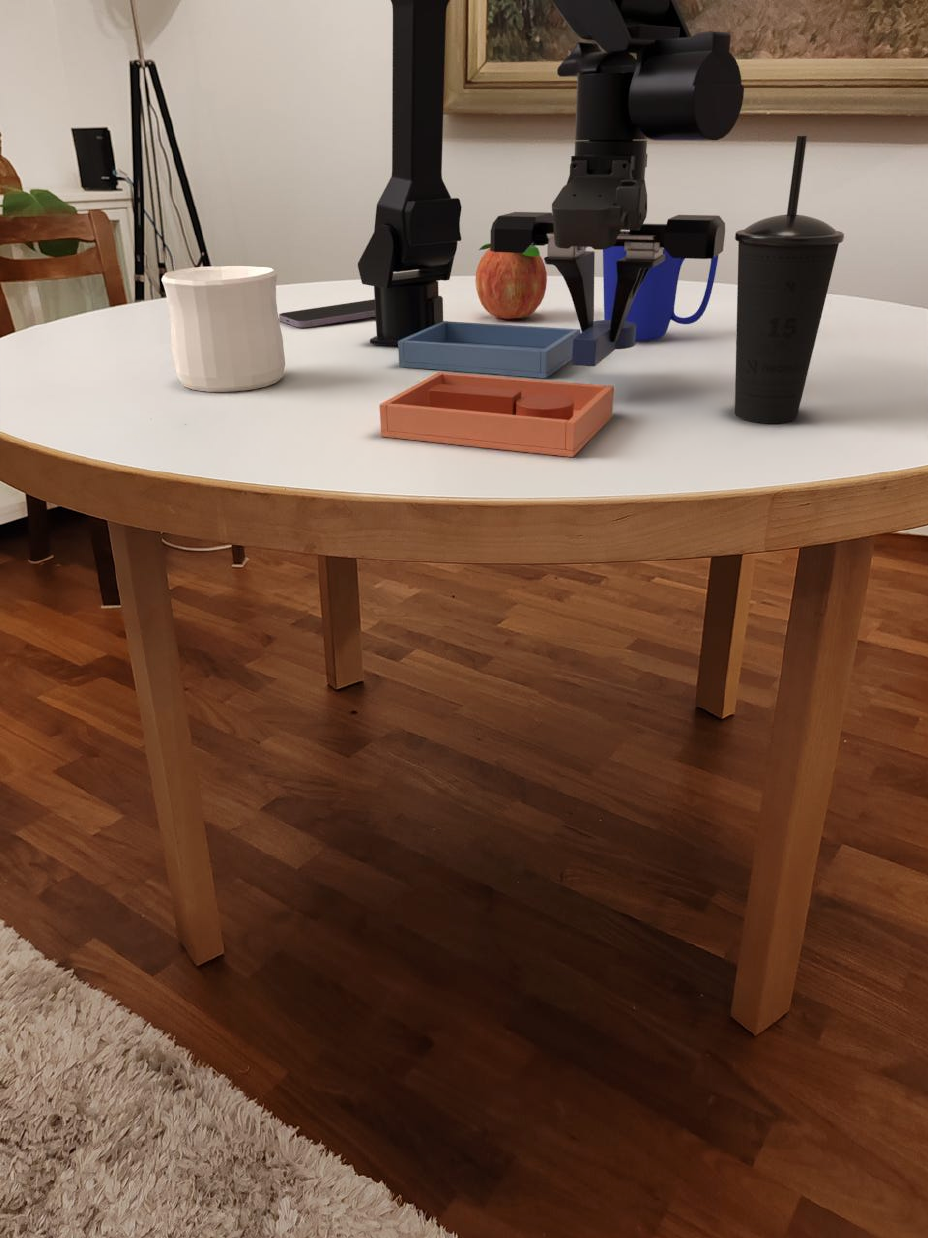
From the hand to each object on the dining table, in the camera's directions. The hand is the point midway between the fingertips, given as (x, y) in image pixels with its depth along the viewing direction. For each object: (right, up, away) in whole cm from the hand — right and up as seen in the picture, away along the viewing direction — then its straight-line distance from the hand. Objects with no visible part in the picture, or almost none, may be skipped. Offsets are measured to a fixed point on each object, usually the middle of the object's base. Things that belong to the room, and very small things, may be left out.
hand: (600, 340), depth 83 cm
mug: (+9, +6, +21) cm, 24 cm away
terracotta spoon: (-9, -9, -9) cm, 15 cm away
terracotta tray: (-9, -9, -9) cm, 16 cm away
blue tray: (-9, +2, +12) cm, 16 cm away
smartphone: (-27, +13, +35) cm, 46 cm away
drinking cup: (+12, -8, -7) cm, 16 cm away
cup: (-34, -2, +6) cm, 34 cm away
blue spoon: (0, -1, +1) cm, 1 cm away
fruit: (-6, +12, +33) cm, 36 cm away
